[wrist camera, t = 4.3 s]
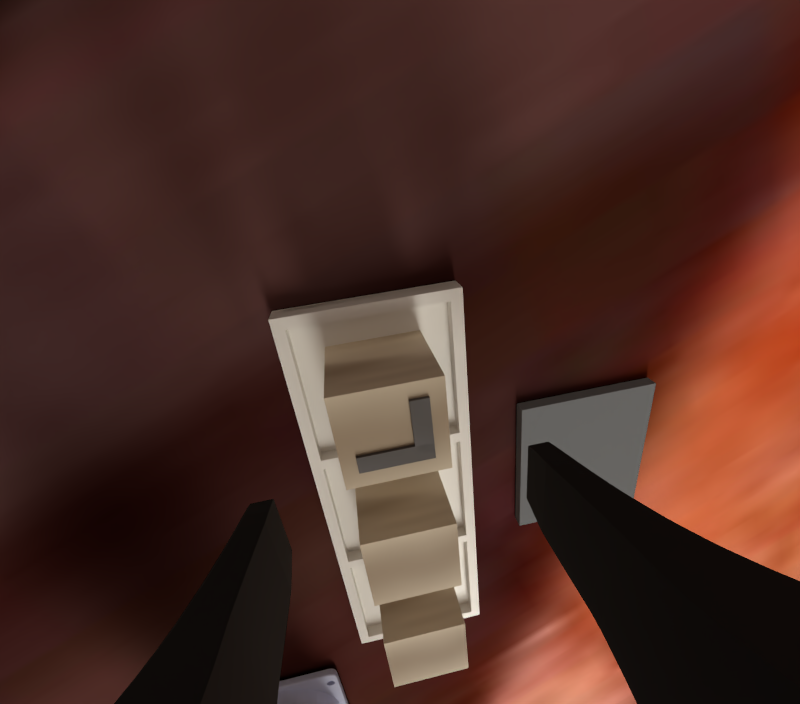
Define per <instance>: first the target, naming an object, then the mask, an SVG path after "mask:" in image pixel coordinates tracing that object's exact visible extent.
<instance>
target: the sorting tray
mask: <svg viewBox="0 0 800 704" xmlns="http://www.w3.org/2000/svg"><path fill="white" fill-rule="evenodd" d="M268 321H269V324H270V327H271V331H272V334H273V338H274V341H275V345H276V348H277V352H278V355H279V359H280V362H281V366H282V369H283V372H284V376H285V379H286V383H287V386H288V390H289V393H290V397H291V400H292V404H293V407H294V410H295V414H296V417H297V421H298V424H299V428H300V431H301V435H302V438H303V442H304V445H305V449H306V452H307V455H308V459H309V462H310V466H311V469H312V473H313V476H314V480H315V483H316V487H317V490H318V494H319V497H320V500H321V504H322V507H323V511H324V514H325V518H326V521H327V525H328V528H329V532H330V535H331V538H332V542H333V545H334V549H335V552H336V556H337V559H338V563H339V566H340V570H341V573H342V577H343V580H344V583H345V587H346V590H347V594H348V597H349V601H350V604H351V608H352V611H353V615H354V618H355V622H356V625H357V628H358V632H359V635H360V639H361V642H362V644H363V643H367V642H371V641H375V640H379V639H383V631H382V623H381V614H380V605H377V606H375V605H374V601H373V597H372V593H371V589H370V585H369V581H368V577H367V573H366V569H365V565H364V561H363V556H362V552H361V548H360V542H359V529H358V517H357V505H356V493H355V488H354V489H350V490H346V487H345V483H344V479H343V475H342V471H341V467H340V463H339V459H338V455H337V450H336V446H335V442H334V438H333V434H332V430H331V426H330V422H329V418H328V414H327V410H326V406H325V401H324V364H325V347H328V346H333V345H339V344H344V343H350V342H356V341H361V340H367V339H373V338H378V337H384V336H390V335H395V334H401V333H407V332H412V331H418V330H420V331H421V333H422V335H423V337H424V338H425V340H426V342H427V344H428V346H429V347H430V349H431V351H432V353H433V355H434V357H435V358H436V360H437V362H438V364H439V366H440V367H441V369H442V371H443V373H444V375H445V382H446V394H447V407H448V419H449V432H450V444H451V457H452V468H449V469H444V470H439V471H438V472H439V475H440V478H441V480H442V483H443V486H444V489H445V492H446V495H447V497H448V500H449V503H450V506H451V509H452V511H453V514H454V517H455V520H456V523H457V531H458V544H459V556H460V569H461V581H462V585H460V586H456V587H454V589H455V592H456V595H457V599H458V602H459V606H460V609H461V612H462V616H463V618H467V617H471V616H475V615H479V597H478V578H477V558H476V539H475V520H474V500H473V481H472V461H471V442H470V423H469V403H468V384H467V365H466V345H465V326H464V306H463V287H462V286H461V285H460V284H459V283H457V282H456V281H449V282H443V283H437V284H431V285H425V286H419V287H413V288H407V289H401V290H395V291H389V292H383V293H377V294H371V295H365V296H359V297H353V298H347V299H341V300H335V301H329V302H323V303H317V304H311V305H305V306H299V307H293V308H287V309H281V310H275V311H272V312H271V314H270V317H269V319H268Z"/></svg>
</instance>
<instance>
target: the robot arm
mask: <svg viewBox="0 0 800 704" xmlns="http://www.w3.org/2000/svg"><path fill="white" fill-rule="evenodd" d="M527 500H528V502H529V505H530V507H531V509H532V511H533V514H534V516H535V518H536V520H537V522H538V524H539V526H540V528H541V530H542V532H543V534H544V536H545V537H546V539H547V541H548V543H549V544H550V546H551V547H552V549H553V551H554V552H555V554H556V556H557V557H558V559H559V561H560V562H561V564H562V566H563V567H564V569H565V570H566V572H567V574H568V575H569V577H570V579H571V580H572V582H573V584H574V585H575V587H576V588H577V590H578V592H579V593H580V595H581V597H582V598H583V600H584V601H585V603H586V605H587V606H588V608H589V610H590V611H591V613H592V615H593V617H594V618H595V620H596V622H597V624H598V626H599V627H600V629H601V631H602V633H603V635H604V637H605V639H606V641H607V643H608V645H609V647H610V649H611V651H612V653H613V655H614V657H615V659H616V661H617V663H618V665H619V667H620V669H621V671H622V673H623V675H624V677H625V679H626V681H627V683H628V685H629V688H630V690H631V692H632V694H633V696H634V698H635V700H636V702H637V704H800V581H798V580H795V579H793V578H790V577H788V576H786V575H783V574H781V573H779V572H776V571H774V570H771V569H769V568H767V567H765V566H762V565H760V564H758V563H756V562H754V561H751V560H749V559H747V558H745V557H742V556H740V555H738V554H736V553H734V552H731V551H729V550H727V549H725V548H723V547H721V546H719V545H717V544H715V543H713V542H711V541H709V540H707V539H705V538H703V537H701V536H699V535H697V534H695V533H693V532H691V531H690V530H688V529H686V528H684V527H682V526H680V525H678V524H676V523H674V522H673V521H671V520H669V519H667V518H665V517H664V516H662V515H660V514H658V513H657V512H655V511H653V510H652V509H650V508H648V507H647V506H645V505H643V504H642V503H640V502H638V501H637V500H635V499H633V498H632V497H630V496H629V495H627V494H625V493H624V492H622V491H621V490H619V489H617V488H616V487H614V486H613V485H611V484H610V483H608V482H607V481H605V480H604V479H602V478H601V477H599V476H598V475H596V474H595V473H593V472H592V471H590V470H589V469H587V468H586V467H585V466H583V465H582V464H580V463H579V462H577V461H576V460H574V459H573V458H572V457H570V456H569V455H567V454H566V453H564V452H563V451H562V450H560V449H559V448H557V447H556V446H554V445H553V444H551V443H550V442H544V443H539V444H534V445H529V446H528V467H527ZM291 578H292V549H291V546H290V543H289V541H288V538H287V535H286V532H285V530H284V527H283V524H282V521H281V519H280V516H279V513H278V510H277V508H276V505H275V502H274V499H271V500H267V501H262V502H257V503H252V504H250V505H249V507H248V508H247V510H246V511H245V513H244V515H243V517H242V518H241V520H240V522H239V524H238V525H237V527H236V529H235V531H234V532H233V534H232V536H231V538H230V539H229V541H228V543H227V544H226V546H225V548H224V549H223V551H222V553H221V554H220V556H219V558H218V559H217V561H216V563H215V564H214V566H213V567H212V569H211V571H210V572H209V574H208V576H207V577H206V579H205V580H204V582H203V584H202V585H201V587H200V588H199V590H198V591H197V593H196V594H195V596H194V597H193V599H192V600H191V602H190V603H189V605H188V606H187V608H186V609H185V611H184V612H183V614H182V615H181V616H180V618H179V619H178V621H177V622H176V624H175V625H174V627H173V628H172V630H171V631H170V632H169V634H168V635H167V636H166V638H165V639H164V641H163V642H162V643H161V645H160V646H159V647H158V649H157V650H156V651H155V653H154V654H153V655H152V657H151V658H150V659H149V661H148V662H147V663H146V665H145V666H144V667H143V668H142V670H141V671H140V672H139V674H138V675H137V676H136V678H135V679H134V680H133V681H132V682H131V684H130V685H129V686H128V687H127V689H126V690H125V691H124V692H123V693H122V695H121V696H120V697H119V698H118V700H117V701H116V702H115V703H114V704H348V701H347V698H346V695H345V693H344V690H343V687H342V684H341V682H340V679H339V676H338V673H337V671H336V670H335V669H326V670H322V671H318V672H314V673H310V674H306V675H302V676H298V677H294V678H290V679H286V680H282V681H280V674H281V666H282V658H283V651H284V643H285V635H286V628H287V620H288V612H289V604H290V596H291Z"/></svg>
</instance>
